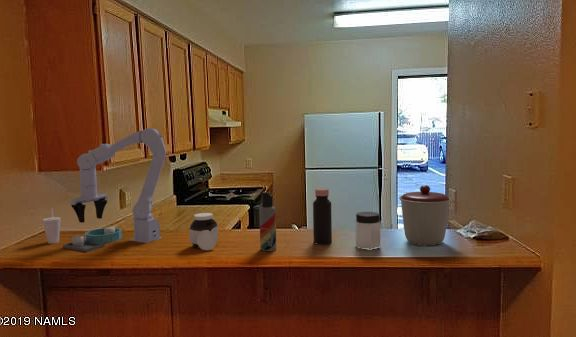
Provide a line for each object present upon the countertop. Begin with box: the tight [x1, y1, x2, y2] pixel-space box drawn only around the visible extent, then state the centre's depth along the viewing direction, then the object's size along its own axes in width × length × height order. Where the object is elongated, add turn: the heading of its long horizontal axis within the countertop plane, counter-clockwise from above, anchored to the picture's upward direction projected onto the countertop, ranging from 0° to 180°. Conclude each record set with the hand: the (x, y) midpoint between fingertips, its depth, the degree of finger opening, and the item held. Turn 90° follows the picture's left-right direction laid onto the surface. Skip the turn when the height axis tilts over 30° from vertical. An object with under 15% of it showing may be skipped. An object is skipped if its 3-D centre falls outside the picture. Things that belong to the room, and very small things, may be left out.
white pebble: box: [71, 235, 85, 247], centre depth 159 cm, size 4×4×4 cm
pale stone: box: [103, 226, 116, 235], centre depth 171 cm, size 4×4×4 cm
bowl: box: [84, 227, 123, 244], centre depth 169 cm, size 13×13×4 cm
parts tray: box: [62, 240, 106, 253], centre depth 157 cm, size 13×7×2 cm, turn 62°
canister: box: [398, 184, 452, 246], centre depth 154 cm, size 18×18×21 cm
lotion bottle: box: [258, 193, 277, 252], centre depth 150 cm, size 6×6×20 cm
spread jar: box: [189, 212, 219, 251], centre depth 155 cm, size 12×11×12 cm
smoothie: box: [42, 207, 62, 244], centre depth 165 cm, size 6×6×14 cm
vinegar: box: [312, 188, 333, 245], centre depth 157 cm, size 7×7×20 cm
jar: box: [355, 211, 381, 249], centre depth 150 cm, size 9×8×12 cm
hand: (90, 220), depth 163 cm, fingers open, 7 cm apart
